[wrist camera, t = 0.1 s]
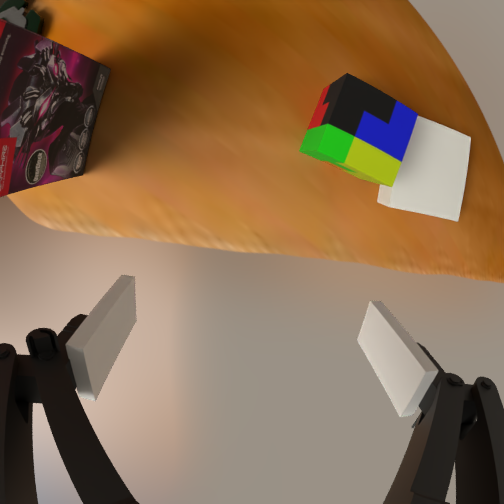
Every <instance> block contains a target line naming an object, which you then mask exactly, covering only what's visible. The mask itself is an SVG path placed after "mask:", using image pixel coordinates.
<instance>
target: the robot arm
mask: <svg viewBox="0 0 504 504" xmlns="http://www.w3.org/2000/svg"><path fill="white" fill-rule="evenodd" d="M135 302H136V301H135V277H133V276H127V275H121V277H120V278H119V279H118V280H117V281H116V282H115V283H114V285H113V286H112V287H111V288H110V289H109V291H108V292H107V293H106V294H105V295H104V296H103V298H102V299H101V300H100V301H99V303H98V304H97V305H96V306H95V307H94V309H93V310H92V311H91V312H90V314H89V315H83V314H79V315H77V316H76V317H74V318H72V319H71V320H70V322H69V323H68V324H67V326H65V327H64V329H63V331H61V332H60V333H59V335H58V336H57V334H56V333H55V332H54V331H53V330H51V329H48V328H38V329H35V330H33V331H31V332H30V333H29V334H28V335H27V337H26V343H27V346H28V350H29V352H30V355H19V354H18V355H17V353H16V350H15V348H14V347H13V346H12V345H10V344H6V343H2V344H0V504H38V500H37V492H36V484H35V475H34V462H33V440H32V412H33V403H42V404H43V407H44V410H45V413H46V417H47V420H48V422H49V425H50V428H51V431H52V434H53V437H54V440H55V442H56V445H57V448H58V450H59V453H60V455H61V457H62V460H63V462H64V465H65V467H66V469H67V471H68V473H69V475H70V478H71V480H72V482H73V484H74V486H75V488H76V490H77V492H78V494H79V496H80V498H81V500H82V502H83V504H139V503H138V502H137V501H136V500H135V499H134V497H133V496H132V494H131V493H130V491H129V490H128V488H127V487H126V485H125V484H124V482H123V481H122V479H121V477H120V476H119V474H118V473H117V471H116V470H115V468H114V466H113V464H112V463H111V461H110V459H109V458H108V456H107V454H106V452H105V450H104V449H103V447H102V445H101V443H100V441H99V439H98V437H97V436H96V434H95V432H94V430H93V428H92V426H91V424H90V422H89V420H88V418H87V415H86V413H85V411H84V409H83V407H82V405H81V402H80V400H79V398H78V395H77V393H76V391H75V389H76V387H77V391H78V394H79V397H82V398H86V399H89V400H93V401H96V399H97V397H98V395H99V393H100V391H101V389H102V386H103V384H104V382H105V380H106V378H107V376H108V374H109V372H110V370H111V368H112V366H113V364H114V362H115V360H116V358H117V356H118V354H119V353H120V351H121V348H122V347H123V345H124V343H125V341H126V339H127V337H128V335H129V333H130V332H131V330H132V328H133V326H134V324H135V322H136V303H135ZM357 341H358V343H359V344H360V346H361V348H362V350H363V351H364V353H365V355H366V357H367V358H368V360H369V362H370V363H371V365H372V367H373V369H374V371H375V372H376V374H377V376H378V378H379V380H380V381H381V383H382V385H383V387H384V389H385V390H386V392H387V394H388V396H389V397H390V400H391V401H392V403H393V405H394V407H395V409H396V411H397V413H398V414H399V416H400V417H405V416H411V415H413V414H414V412H415V411H416V409H417V408H418V406H419V407H420V409H421V410H422V412H421V413H420V415H419V417H418V418H417V420H416V421H415V423H414V424H413V426H412V428H414V426H415V428H414V431H413V434H412V437H411V440H410V442H409V445H408V448H407V451H406V454H405V456H404V458H403V461H402V463H401V465H400V468H399V471H398V473H397V475H396V477H395V480H394V482H393V484H392V486H391V488H390V491H389V492H388V494H387V496H386V499H385V501H384V503H383V504H450V503H448V502H445V498H446V494H447V491H448V487H449V484H450V479H451V475H452V471H453V466H454V462H455V470H456V504H504V408H503V405H502V402H501V399H500V396H499V393H498V390H497V388H496V386H495V384H494V383H493V382H492V380H491V379H489V378H486V377H478V378H477V379H476V381H475V383H474V384H473V385H469V384H465V383H464V381H463V380H462V379H461V378H460V377H459V376H457V375H455V374H452V373H445V372H444V370H443V369H442V368H441V367H440V365H439V364H438V363H437V362H436V360H434V358H433V357H432V356H431V355H430V353H429V352H428V351H427V350H426V348H425V347H423V346H422V345H420V344H419V343H416V342H415V341H414V339H413V338H412V337H411V336H410V335H409V333H408V332H407V331H406V330H405V329H404V327H403V326H402V325H401V324H400V323H399V322H398V321H397V319H396V318H395V317H394V316H393V314H392V313H391V312H390V311H389V310H388V309H387V307H386V306H385V305H384V304H383V303H382V302H381V301H370V303H369V306H368V309H367V312H366V315H365V318H364V322H363V324H362V327H361V331H360V333H359V336H358V340H357ZM476 419H477V421H476Z"/></svg>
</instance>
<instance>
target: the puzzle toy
mask: <svg viewBox="0 0 504 504" xmlns="http://www.w3.org/2000/svg"><path fill="white" fill-rule="evenodd" d="M417 116H418V114H417V113H416V112H414V111H413V110H411V109H410V108H408V107H406V106H405V105H403V104H402V103H400V102H398V101H397V100H395V99H394V98H392V97H390V96H389V95H387V94H385V93H383V92H382V91H380V90H378V89H377V88H375V87H373V86H371V85H369V84H368V83H366V82H364V81H362V80H360V79H358V78H356V77H354V76H352V75H350V74H348V73H346V74H345V75H343V76H342V77H340V78H339V79H338V80H336V81H335V82H333V83H332V84H330V85H329V86H327V87H326V88H324V89H323V92H322V95H321V97H320V100H319V102H318V105H317V107H316V110H315V112H314V115H313V117H312V120H311V122H310V125H309V128H308V130H307V133H306V135H305V138H304V140H303V143H302V145H301V148H300V150H299V151H300V152H302V153H305V154H307V155H309V156H312V157H314V158H316V159H319V160H321V161H323V162H325V163H328V164H330V165H332V166H334V167H336V168H339V169H341V170H343V171H345V172H347V173H349V174H351V175H353V176H355V177H358V178H360V179H363V180H366V181H370V182H374V183H378V184H381V185H385V186H388V187H392V186H393V184H394V181H395V178H396V176H397V173H398V171H399V168H400V165H401V163H402V160H403V157H404V154H405V152H406V149H407V146H408V143H409V140H410V138H411V135H412V132H413V129H414V126H415V123H416V120H417Z"/></svg>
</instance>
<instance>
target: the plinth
mask: <svg viewBox="0 0 504 504" xmlns="http://www.w3.org/2000/svg"><path fill="white" fill-rule="evenodd" d="M470 142H471V137H469V136H467V135H464V134H462V133H460V132H458V131H455V130H453V129H451V128H448V127H446V126H443V125H441V124H438V123H436V122H433V121H431V120H428V119H425V118H423V117H420V116H417V120H416V123H415V126H414V129H413V132H412V135H411V138H410V140H409V143H408V146H407V149H406V152H405V154H404V157H403V160H402V163H401V165H400V168H399V171H398V173H397V176H396V178H395V181H394V184H393V186H392V187H388V186H385V185H381V184H380V188H379V194H378V199H377V202H378V203H381V204H383V205H385V206H388V207H392V208H397V209H402V210H407V211H412V212H417V213H422V214H426V215H431V216H436V217H440V218H445V219H449V220H453V221H458V219H459V215H460V210H461V205H462V199H463V194H464V188H465V182H466V175H467V168H468V161H469V152H470Z"/></svg>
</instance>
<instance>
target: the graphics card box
mask: <svg viewBox="0 0 504 504" xmlns="http://www.w3.org/2000/svg"><path fill="white" fill-rule="evenodd" d="M110 71H111V69H110V68H108V67H106V66H104V65H102V64H100V63H98V62H96V61H94V60H92V59H90V58H88V57H86V56H84V55H83V54H80V53H78V52H76V51H74V50H72V49H69V48H67V47H65V46H63V45H61V44H59V43H57V42H54V41H52V40H50V39H48V38H45V37H43V36H41V35H39V34H37V33H34V32H32V31H30V30H27V29H25V28H23V27H20V26H18V25H15V24H13V23H10V22H8V21H5V20H3V19H0V197H2V196H5V195H8V194H11V193H15V192H18V191H22V190H25V189H28V188H32V187H36V186H40V185H44V184H48V183H52V182H56V181H60V180H64V179H68V178H73V177H77V176H82V175H83V173H84V168H85V162H86V158H87V153H88V149H89V144H90V140H91V136H92V132H93V128H94V124H95V120H96V116H97V112H98V109H99V106H100V102H101V99H102V95H103V92H104V89H105V86H106V83H107V80H108V77H109V74H110Z"/></svg>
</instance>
